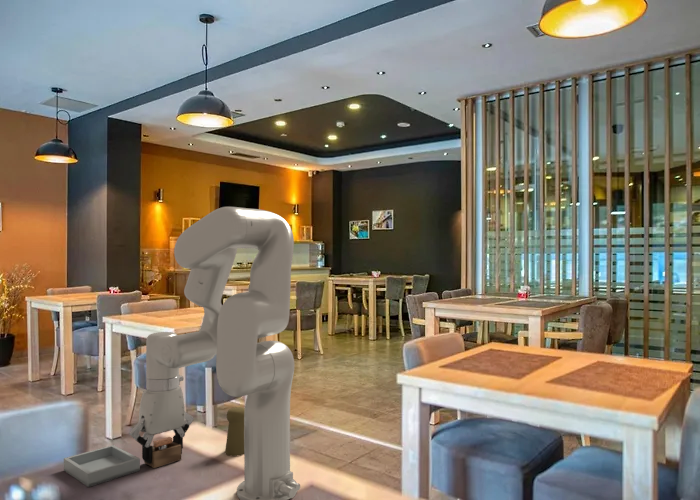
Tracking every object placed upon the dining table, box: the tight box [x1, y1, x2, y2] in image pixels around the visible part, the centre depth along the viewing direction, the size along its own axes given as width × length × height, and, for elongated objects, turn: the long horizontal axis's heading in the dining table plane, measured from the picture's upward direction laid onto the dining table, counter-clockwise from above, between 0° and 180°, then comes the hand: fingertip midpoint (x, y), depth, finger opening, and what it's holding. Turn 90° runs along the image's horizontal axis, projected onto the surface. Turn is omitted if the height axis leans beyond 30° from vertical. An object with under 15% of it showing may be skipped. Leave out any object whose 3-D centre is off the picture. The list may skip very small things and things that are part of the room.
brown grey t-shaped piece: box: [152, 436, 173, 450], centre depth 128 cm, size 2×4×5 cm, turn 139°
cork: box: [224, 406, 245, 457], centre depth 135 cm, size 6×6×11 cm
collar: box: [143, 440, 182, 469], centre depth 128 cm, size 7×5×4 cm
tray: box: [63, 444, 141, 488], centre depth 123 cm, size 14×12×3 cm
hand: (163, 456), depth 128 cm, fingers closed on collar, 7 cm apart
